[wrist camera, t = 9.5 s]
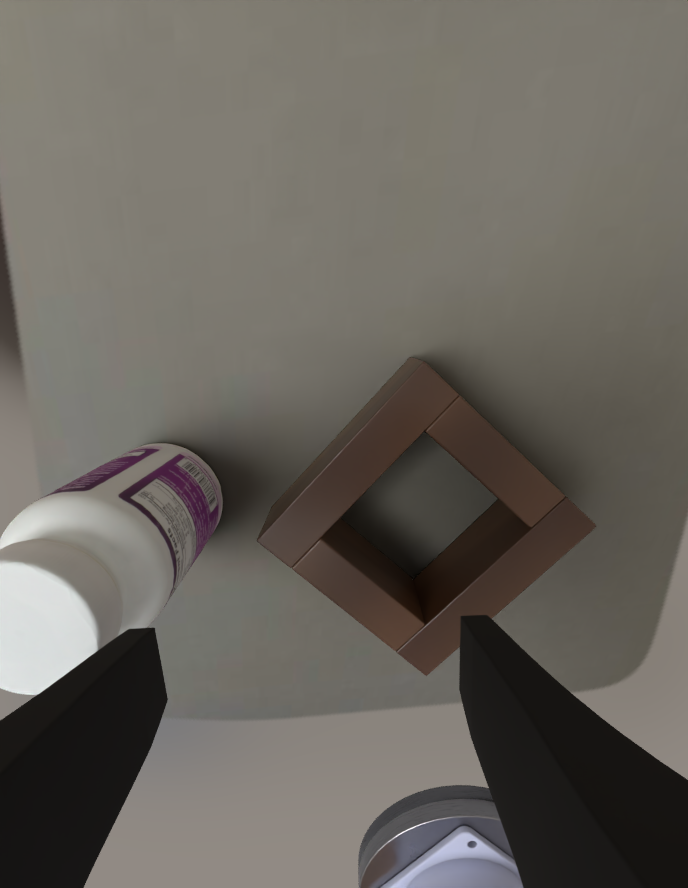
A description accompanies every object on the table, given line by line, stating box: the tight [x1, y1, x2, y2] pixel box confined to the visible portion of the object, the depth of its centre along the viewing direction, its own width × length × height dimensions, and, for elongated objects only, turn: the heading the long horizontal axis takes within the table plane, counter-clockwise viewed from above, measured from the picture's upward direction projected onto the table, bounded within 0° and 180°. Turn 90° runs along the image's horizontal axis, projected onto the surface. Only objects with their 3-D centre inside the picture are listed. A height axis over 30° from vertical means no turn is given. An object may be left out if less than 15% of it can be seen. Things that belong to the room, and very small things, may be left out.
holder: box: [257, 357, 596, 676], centre depth 18 cm, size 9×9×4 cm
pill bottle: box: [0, 443, 223, 695], centre depth 16 cm, size 5×5×10 cm
